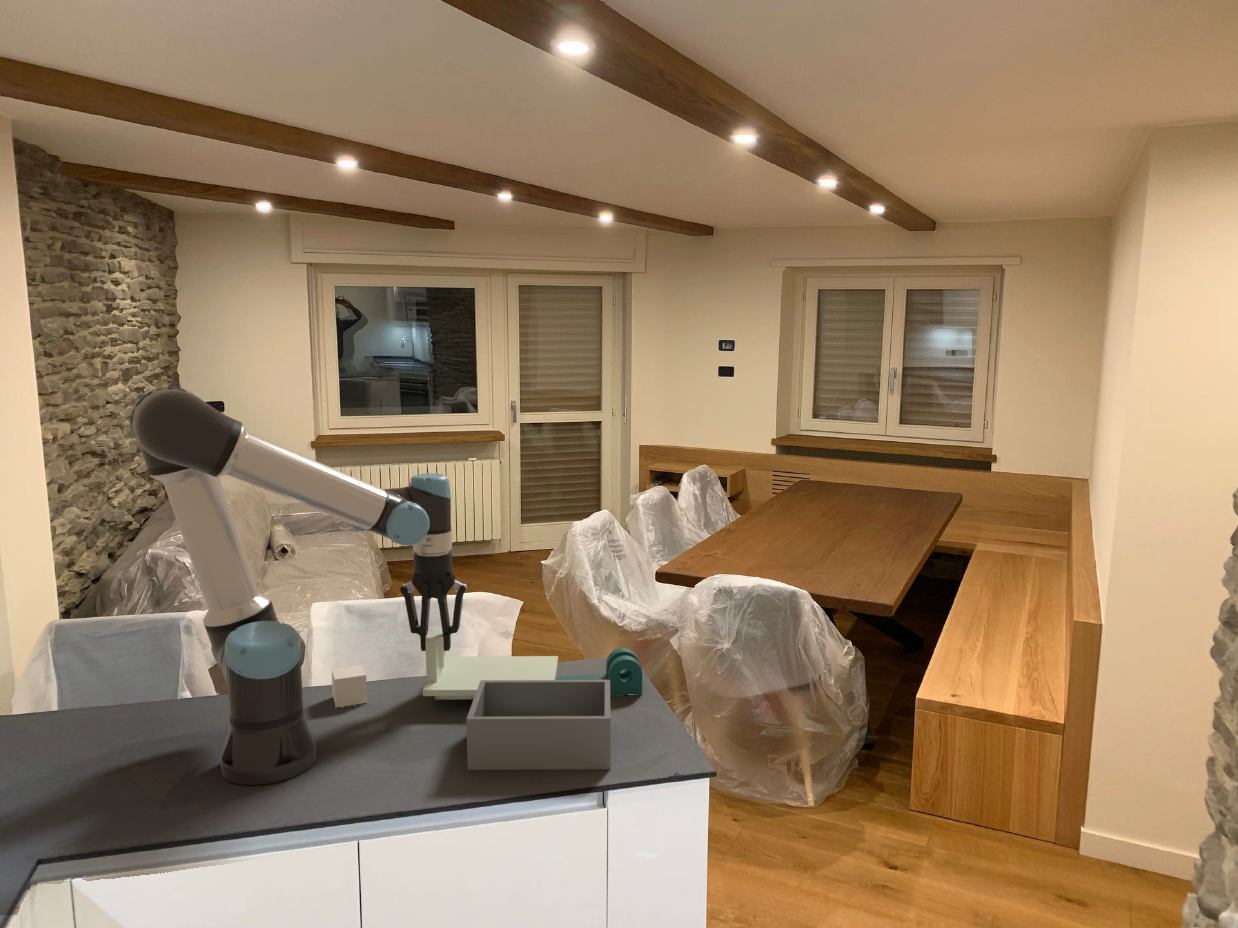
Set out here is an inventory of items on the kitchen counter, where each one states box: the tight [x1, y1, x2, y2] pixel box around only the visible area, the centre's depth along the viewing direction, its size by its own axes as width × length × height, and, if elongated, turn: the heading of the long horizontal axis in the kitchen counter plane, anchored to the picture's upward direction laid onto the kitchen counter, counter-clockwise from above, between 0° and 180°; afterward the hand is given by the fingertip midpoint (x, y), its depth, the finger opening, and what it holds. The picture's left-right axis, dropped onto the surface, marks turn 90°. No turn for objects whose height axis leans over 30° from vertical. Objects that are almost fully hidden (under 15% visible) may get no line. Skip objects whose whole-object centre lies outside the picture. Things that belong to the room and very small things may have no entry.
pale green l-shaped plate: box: [422, 625, 559, 700], centre depth 181 cm, size 25×18×11 cm
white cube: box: [331, 664, 368, 708], centre depth 179 cm, size 6×6×6 cm
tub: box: [465, 680, 611, 771], centre depth 159 cm, size 24×17×9 cm
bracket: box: [555, 647, 643, 697], centre depth 184 cm, size 18×7×8 cm, turn 96°
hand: (436, 665), depth 181 cm, fingers closed on pale green l-shaped plate, 2 cm apart
